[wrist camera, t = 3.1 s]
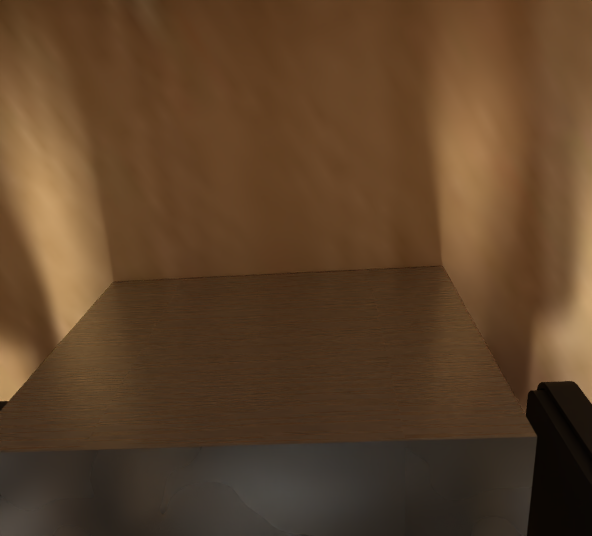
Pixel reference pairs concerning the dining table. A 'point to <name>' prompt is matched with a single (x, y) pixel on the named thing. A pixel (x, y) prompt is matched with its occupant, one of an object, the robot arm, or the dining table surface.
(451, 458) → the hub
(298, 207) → the dining table surface
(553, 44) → the dining table surface
